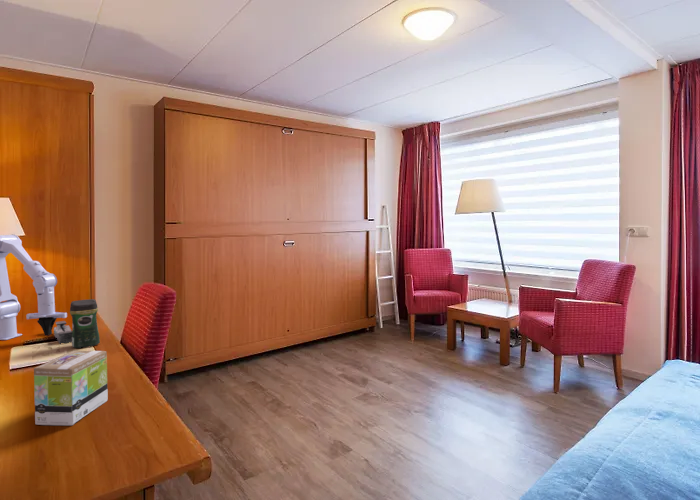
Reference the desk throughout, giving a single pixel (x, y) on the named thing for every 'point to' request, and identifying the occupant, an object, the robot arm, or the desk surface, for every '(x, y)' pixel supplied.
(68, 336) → the tongs base
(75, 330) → the coffee jar
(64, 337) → the tong arm
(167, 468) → the desk surface
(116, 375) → the desk surface
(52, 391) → the tea box
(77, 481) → the desk surface
